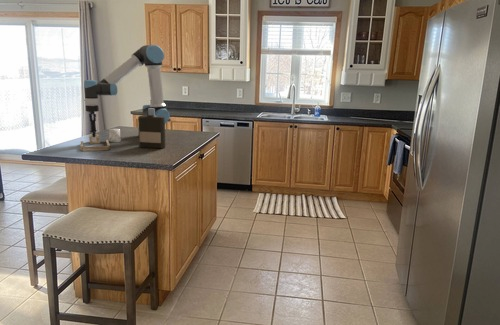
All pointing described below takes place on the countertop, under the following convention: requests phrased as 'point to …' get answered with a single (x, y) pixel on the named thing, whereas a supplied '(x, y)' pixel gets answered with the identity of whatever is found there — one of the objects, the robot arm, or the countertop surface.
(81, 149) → the wooden l-shaped bracket
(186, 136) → the countertop surface
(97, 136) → the oak block
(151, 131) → the bottle
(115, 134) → the white rounded capsule
